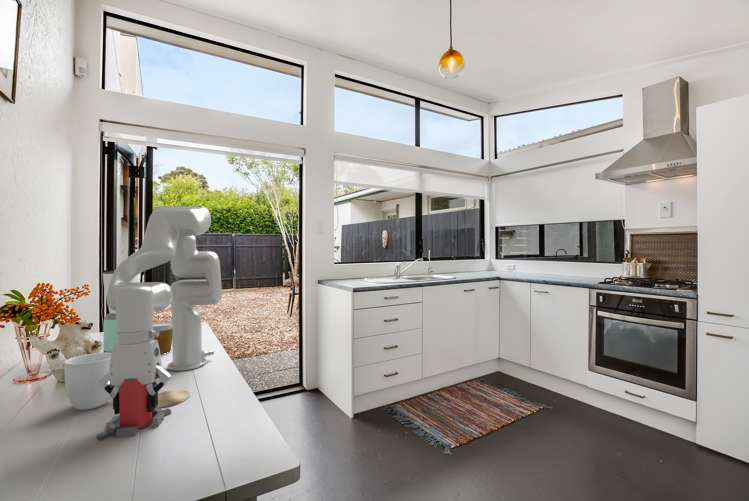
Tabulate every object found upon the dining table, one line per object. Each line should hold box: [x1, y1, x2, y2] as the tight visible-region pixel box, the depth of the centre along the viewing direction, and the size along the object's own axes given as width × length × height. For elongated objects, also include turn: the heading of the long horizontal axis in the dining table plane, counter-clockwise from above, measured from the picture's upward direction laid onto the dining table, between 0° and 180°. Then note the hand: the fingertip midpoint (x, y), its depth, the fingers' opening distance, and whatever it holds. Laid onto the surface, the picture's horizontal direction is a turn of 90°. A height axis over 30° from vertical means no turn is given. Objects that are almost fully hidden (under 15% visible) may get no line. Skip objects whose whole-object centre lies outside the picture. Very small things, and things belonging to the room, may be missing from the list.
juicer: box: [101, 270, 142, 353], centre depth 150 cm, size 19×13×35 cm
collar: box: [95, 407, 172, 442], centre depth 86 cm, size 16×10×2 cm
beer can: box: [118, 379, 153, 431], centre depth 86 cm, size 7×7×12 cm
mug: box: [64, 351, 111, 411], centre depth 99 cm, size 15×11×13 cm
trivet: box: [156, 389, 190, 409], centre depth 101 cm, size 11×11×1 cm
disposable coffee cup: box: [153, 321, 172, 355], centre depth 148 cm, size 10×10×12 cm
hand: (135, 410), depth 86 cm, fingers closed on beer can, 6 cm apart
